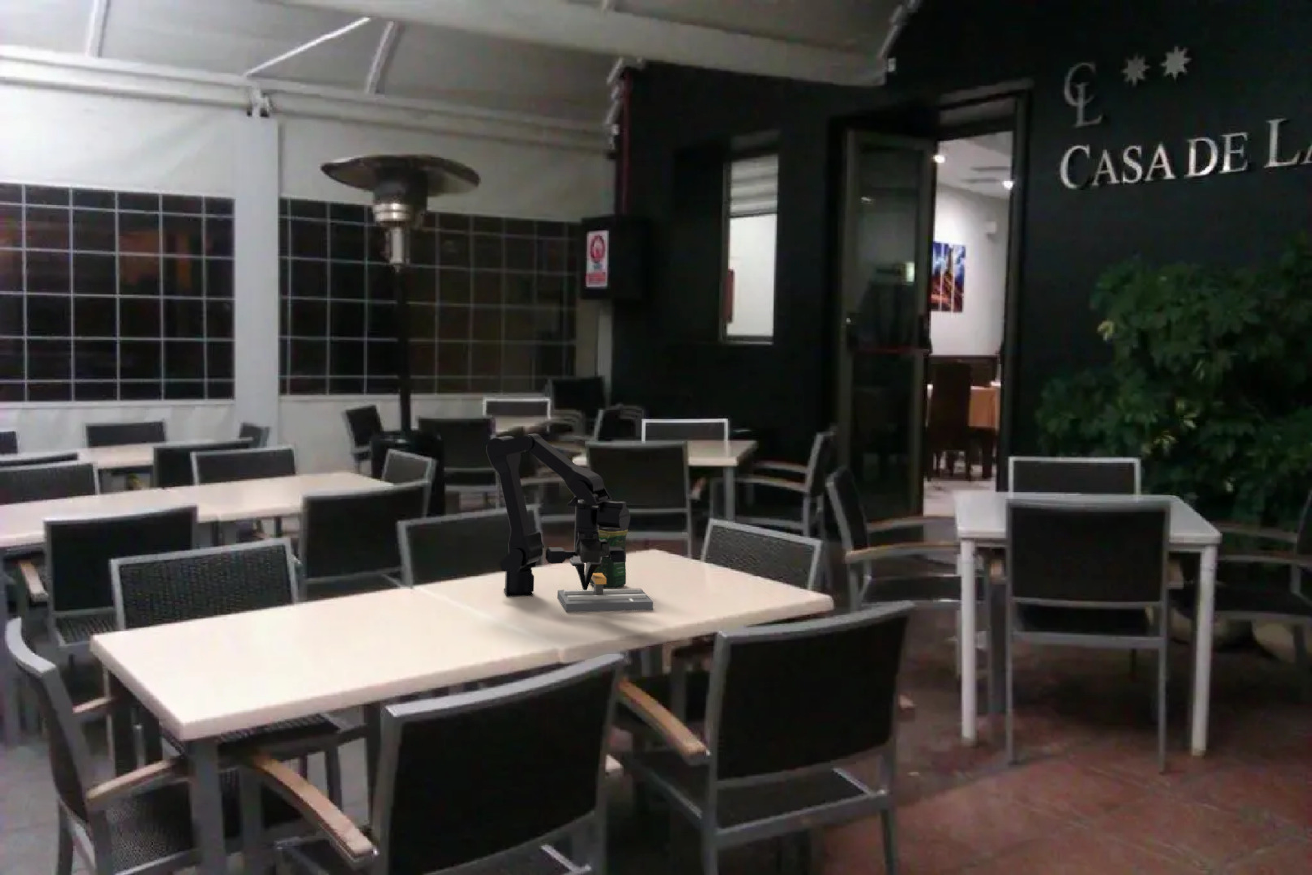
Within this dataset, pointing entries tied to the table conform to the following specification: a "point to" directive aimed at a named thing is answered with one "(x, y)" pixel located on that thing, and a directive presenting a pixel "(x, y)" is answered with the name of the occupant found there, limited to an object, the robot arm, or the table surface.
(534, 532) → the robot arm
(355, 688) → the table surface
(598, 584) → the fader
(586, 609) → the console
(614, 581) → the coffee jar
